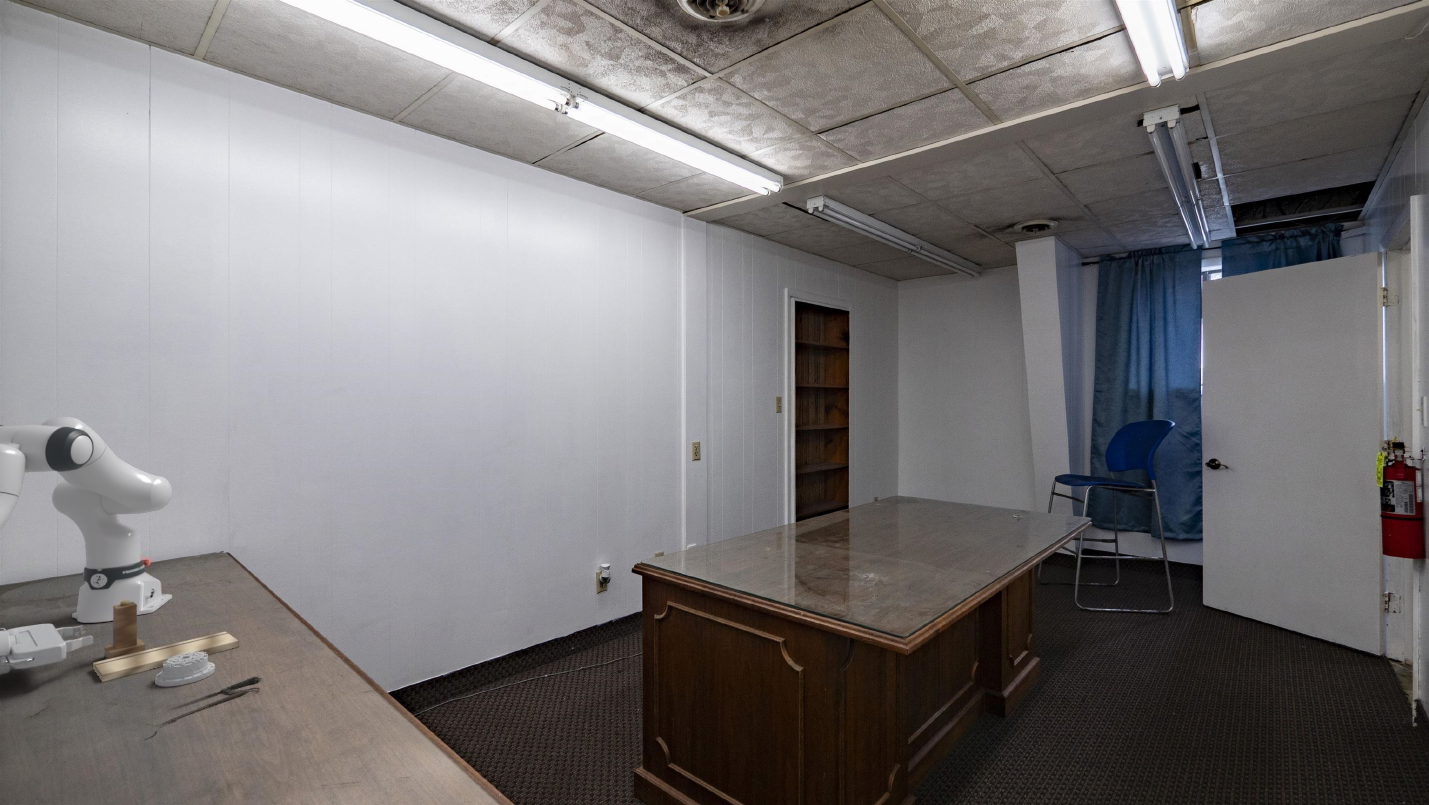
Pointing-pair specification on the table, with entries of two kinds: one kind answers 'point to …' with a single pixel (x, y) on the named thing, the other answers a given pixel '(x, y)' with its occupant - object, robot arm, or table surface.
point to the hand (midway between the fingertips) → (88, 634)
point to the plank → (161, 655)
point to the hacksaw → (226, 690)
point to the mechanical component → (185, 669)
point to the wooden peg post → (124, 631)
